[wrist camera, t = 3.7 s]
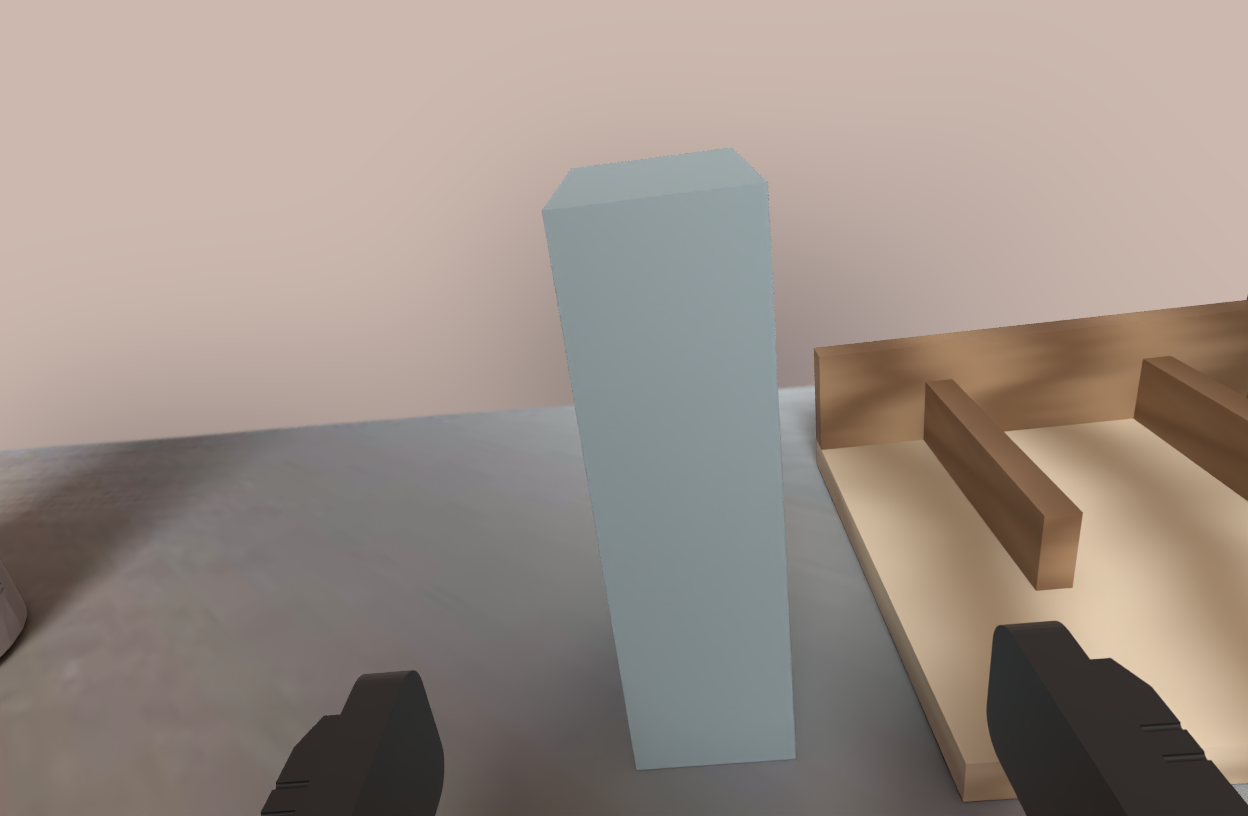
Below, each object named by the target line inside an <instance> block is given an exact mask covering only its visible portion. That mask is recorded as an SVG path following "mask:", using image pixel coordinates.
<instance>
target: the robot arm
mask: <svg viewBox="0 0 1248 816" xmlns="http://www.w3.org/2000/svg"><path fill="white" fill-rule="evenodd" d="M26 618H27V609H26V604H25V602H24V600H23V599H22V597H21V595H20V593H19V591H18V590H17V588H16V586H15V584H14V582H13V581H12V579H11V577H10V575H9V574H8V572H7V570H6V568H5V566H4V565H3V563H2V561H1V559H0V657H1V656H2V655H3V654H4V653H5V652H6V651H7V650H8V649H9V648H10V647H11V645H12V644H13V643H14V641H15V640H16V638H17V637H18V635H19V634H20V632H21V631H22V629H23V627H24V624H25V621H26ZM986 715H987V724H988V729H989V734H990V738H991V742H992V745H993V748H994V750H995V753H996V755H997V758H998V760H999V762H1000V764H1001V766H1002V768H1003V770H1004V772H1005V774H1006V776H1007V778H1008V780H1009V782H1010V784H1011V786H1012V788H1013V790H1014V791H1015V793H1016V795H1017V797H1018V799H1019V801H1020V803H1021V805H1022V807H1023V809H1024V811H1025V813H1026V815H1027V816H1248V805H1247V803H1246V802H1245V801H1244V800H1243V799H1242V797H1241V796H1240V795H1239V794H1238V792H1237V791H1236V790H1235V789H1234V787H1233V786H1232V785H1231V784H1230V782H1229V781H1228V780H1227V779H1226V778H1225V776H1224V775H1223V774H1222V773H1221V771H1220V770H1219V769H1218V768H1217V766H1216V765H1215V764H1214V763H1213V762H1212V760H1207V758H1206V756H1205V752H1204V750H1203V749H1202V748H1201V747H1200V745H1199V744H1198V743H1197V742H1196V741H1195V739H1194V738H1193V737H1192V736H1191V734H1190V733H1189V732H1188V731H1187V729H1182V727H1181V722H1180V721H1179V720H1178V718H1177V717H1176V716H1175V715H1174V713H1173V712H1172V711H1171V710H1170V708H1169V707H1168V706H1167V705H1166V703H1165V702H1164V701H1163V700H1162V699H1161V697H1160V696H1159V695H1158V694H1157V692H1156V691H1155V690H1154V689H1153V687H1152V686H1150V685H1149V684H1147V683H1146V682H1145V681H1143V680H1142V679H1140V678H1139V677H1137V676H1136V675H1135V674H1133V673H1132V672H1130V671H1129V670H1127V669H1126V668H1125V667H1123V666H1122V665H1120V664H1119V663H1117V662H1116V661H1115V660H1113V659H1112V658H1101V659H1090V658H1089V657H1088V656H1087V654H1086V653H1085V652H1084V650H1083V649H1082V648H1081V646H1080V645H1079V644H1078V642H1077V641H1076V640H1075V638H1074V637H1073V636H1072V634H1071V633H1070V631H1069V630H1068V629H1067V628H1066V627H1065V626H1064V625H1063V624H1062V623H1061V622H1059V621H1043V622H1031V623H1018V624H1006V625H998V626H997V627H996V628H995V630H994V634H993V641H992V652H991V662H990V673H989V684H988V695H987V706H986ZM443 780H444V754H443V748H442V744H441V741H440V737H439V734H438V731H437V728H436V724H435V721H434V718H433V715H432V712H431V708H430V705H429V702H428V699H427V695H426V692H425V689H424V686H423V683H422V680H421V677H420V675H419V674H418V673H417V672H416V671H414V670H411V671H398V672H386V673H373V674H364V675H362V676H360V677H359V678H358V680H357V681H356V683H355V684H354V686H353V689H352V691H351V693H350V695H349V697H348V699H347V701H346V704H345V706H344V708H343V710H342V712H341V714H340V715H329V716H323V717H322V718H321V719H320V721H319V722H318V723H317V724H316V725H315V726H314V727H313V728H312V729H311V730H310V731H309V732H308V733H307V734H306V735H305V736H304V737H303V738H302V740H301V741H300V742H299V743H298V744H297V745H296V746H295V747H294V749H293V751H292V752H291V754H290V756H289V758H288V760H287V762H286V764H285V766H284V768H283V770H282V772H281V774H280V776H279V778H278V780H277V782H276V789H275V790H272V792H271V793H270V795H269V797H268V799H267V801H266V803H265V805H264V807H263V809H262V811H261V816H435V814H436V811H437V807H438V804H439V800H440V796H441V792H442V787H443Z"/></svg>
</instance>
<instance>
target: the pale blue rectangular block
mask: <svg viewBox="0 0 1248 816" xmlns="http://www.w3.org/2000/svg"><path fill="white" fill-rule="evenodd" d="M768 196H769V195H768V182H767V181H766V180H765V179H764V178H763V177H762V176H761V175H760V174H759V173H758V172H757V171H756V170H755V169H754V168H753V167H751V166H750V165H749V164H748V163H747V162H746V161H745V160H744V159H743V158H742V157H741V156H740V155H739V154H738V153H737V152H736V151H735V150H734V149H733V148H724V149H716V150H709V151H702V152H693V153H686V154H679V155H671V156H663V157H656V158H648V159H641V160H633V161H625V162H617V163H610V164H602V165H594V166H587V167H579V168H571V170H570V171H569V172H568V174H567V175H566V177H565V178H564V180H563V181H562V183H561V184H560V185H559V187H558V188H557V190H556V191H555V192H554V194H553V195H552V197H551V199H550V200H549V201H548V203H547V204H546V206H545V207H544V208H543V210H542V215H543V221H544V227H545V232H546V238H547V244H548V250H549V256H550V262H551V268H552V274H553V280H554V286H555V292H556V298H557V303H558V309H559V315H560V321H561V327H562V333H563V339H564V345H565V351H566V357H567V363H568V368H569V374H570V380H571V386H572V392H573V398H574V404H575V410H576V416H577V422H578V428H579V433H580V439H581V445H582V451H583V457H584V463H585V469H586V475H587V481H588V487H589V493H590V498H591V504H592V510H593V516H594V522H595V528H596V534H597V540H598V546H599V552H600V558H601V563H602V569H603V575H604V581H605V587H606V593H607V599H608V605H609V611H610V617H611V623H612V628H613V634H614V640H615V646H616V652H617V658H618V664H619V670H620V676H621V682H622V688H623V693H624V699H625V705H626V711H627V717H628V723H629V729H630V735H631V741H632V747H633V752H634V758H635V764H636V770H647V769H661V768H675V767H689V766H703V765H717V764H731V763H745V762H759V761H773V760H787V759H796V748H795V727H794V707H793V686H792V666H791V645H790V625H789V604H788V584H787V563H786V543H785V522H784V502H783V482H782V461H781V441H780V420H779V400H778V381H777V360H776V339H775V319H774V297H773V277H772V258H771V236H770V217H769V216H770V215H769V197H768Z"/></svg>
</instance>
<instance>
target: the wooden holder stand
mask: <svg viewBox="0 0 1248 816" xmlns="http://www.w3.org/2000/svg"><path fill="white" fill-rule="evenodd" d="M814 369H815V405H816V442H817V465H818V467H819V470H820V472H821V474H822V477H823V479H824V481H825V484H826V486H827V488H828V491H829V493H830V495H831V498H832V500H833V502H834V504H835V507H836V509H837V511H838V514H839V516H840V518H841V521H842V523H843V525H844V528H845V530H846V532H847V534H848V537H849V539H850V541H851V544H852V546H853V548H854V551H855V553H856V555H857V558H858V560H859V562H860V564H861V567H862V569H863V571H864V574H865V576H866V578H867V581H868V583H869V585H870V588H871V590H872V592H873V594H874V597H875V599H876V601H877V604H878V606H879V608H880V611H881V613H882V615H883V618H884V620H885V622H886V625H887V627H888V629H889V631H890V634H891V636H892V638H893V641H894V643H895V645H896V648H897V650H898V652H899V655H900V657H901V659H902V661H903V664H904V666H905V668H906V671H907V673H908V675H909V678H910V680H911V682H912V685H913V687H914V689H915V691H916V694H917V696H918V698H919V701H920V703H921V705H922V708H923V710H924V712H925V715H926V717H927V719H928V722H929V724H930V726H931V728H932V731H933V733H934V735H935V738H936V740H937V742H938V745H939V747H940V749H941V752H942V754H943V756H944V758H945V761H946V763H947V765H948V768H949V770H950V772H951V775H952V777H953V779H954V782H955V784H956V786H957V788H958V791H959V793H960V795H961V798H962V800H963V802H968V801H983V800H998V799H1013V798H1018V797H1017V795H1016V793H1015V791H1014V790H1013V788H1012V786H1011V784H1010V782H1009V780H1008V778H1007V776H1006V774H1005V772H1004V770H1003V768H1002V766H1001V764H1000V762H999V760H998V758H997V755H996V753H995V750H994V748H993V745H992V742H991V738H990V734H989V729H988V724H987V715H986V706H987V695H988V684H989V673H990V662H991V652H992V641H993V634H994V630H995V628H996V627H997V626H998V625H1006V624H1018V623H1031V622H1043V621H1059V622H1061V623H1062V624H1063V625H1064V626H1065V627H1066V628H1067V629H1068V630H1069V631H1070V633H1071V634H1072V636H1073V637H1074V638H1075V640H1076V641H1077V642H1078V644H1079V645H1080V646H1081V648H1082V649H1083V650H1084V652H1085V653H1086V654H1087V656H1088V657H1089V658H1090V659H1101V658H1112V659H1113V660H1115V661H1116V662H1117V663H1119V664H1120V665H1122V666H1123V667H1125V668H1126V669H1127V670H1129V671H1130V672H1132V673H1133V674H1135V675H1136V676H1137V677H1139V678H1140V679H1142V680H1143V681H1145V682H1146V683H1147V684H1149V685H1150V686H1152V687H1153V689H1154V690H1155V691H1156V692H1157V694H1158V695H1159V696H1160V697H1161V699H1162V700H1163V701H1164V702H1165V703H1166V705H1167V706H1168V707H1169V708H1170V710H1171V711H1172V712H1173V713H1174V715H1175V716H1176V717H1177V718H1178V720H1179V721H1180V722H1181V727H1182V729H1187V731H1188V732H1189V733H1190V734H1191V736H1192V737H1193V738H1194V739H1195V741H1196V742H1197V743H1198V744H1199V745H1200V747H1201V748H1202V749H1203V750H1204V752H1205V756H1206V758H1207V760H1212V762H1213V763H1214V764H1215V765H1216V766H1217V768H1218V769H1219V770H1220V771H1221V773H1222V774H1223V775H1224V776H1225V778H1226V779H1227V780H1228V781H1229V782H1230V784H1240V783H1248V297H1247V300H1243V301H1234V302H1225V303H1216V304H1207V305H1198V306H1189V307H1180V308H1171V309H1162V310H1154V311H1144V312H1135V313H1126V314H1117V315H1108V316H1099V317H1090V318H1081V319H1073V320H1063V321H1054V322H1045V323H1036V324H1026V325H1017V326H1009V327H999V328H991V329H982V330H973V331H964V332H954V333H945V334H936V335H927V336H919V337H910V338H900V339H891V340H882V341H873V342H864V343H855V344H846V345H837V346H828V347H819V348H814Z"/></svg>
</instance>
